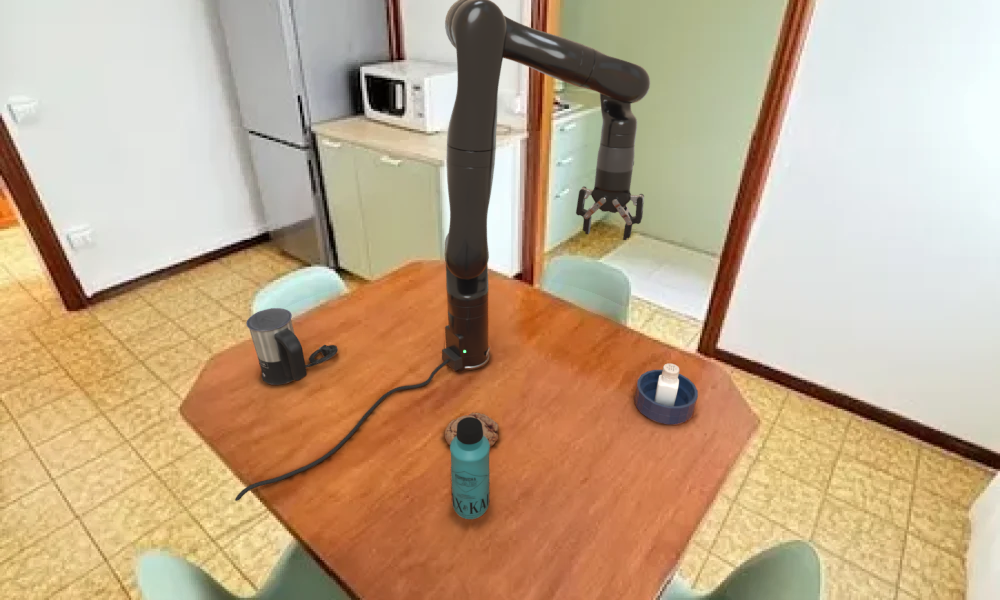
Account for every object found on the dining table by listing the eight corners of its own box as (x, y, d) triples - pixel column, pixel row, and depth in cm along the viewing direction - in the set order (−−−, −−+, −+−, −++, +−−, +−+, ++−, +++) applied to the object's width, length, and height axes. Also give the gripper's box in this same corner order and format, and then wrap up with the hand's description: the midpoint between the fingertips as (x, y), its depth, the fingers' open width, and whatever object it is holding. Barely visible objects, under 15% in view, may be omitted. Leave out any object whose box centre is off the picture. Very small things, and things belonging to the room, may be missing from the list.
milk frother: (252, 379, 121) (236, 324, 114) (299, 341, 134) (287, 290, 126) (303, 395, 117) (290, 340, 109) (347, 355, 129) (338, 302, 122)
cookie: (438, 427, 109) (438, 416, 108) (487, 412, 113) (487, 402, 111) (455, 462, 101) (454, 450, 100) (506, 445, 105) (506, 434, 103)
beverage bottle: (451, 495, 95) (446, 410, 85) (489, 493, 95) (489, 408, 85) (452, 528, 89) (446, 441, 79) (492, 525, 90) (492, 439, 79)
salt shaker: (674, 399, 116) (682, 364, 111) (672, 411, 113) (681, 376, 108) (655, 395, 117) (662, 360, 112) (653, 407, 114) (660, 371, 109)
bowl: (668, 435, 108) (673, 416, 105) (622, 402, 116) (625, 384, 113) (705, 409, 114) (709, 391, 111) (658, 379, 122) (662, 362, 120)
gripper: (577, 166, 112) (571, 237, 121) (646, 174, 108) (635, 247, 116) (585, 156, 118) (579, 225, 127) (651, 164, 114) (640, 234, 123)
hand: (606, 236), depth 122 cm, fingers open, 8 cm apart
